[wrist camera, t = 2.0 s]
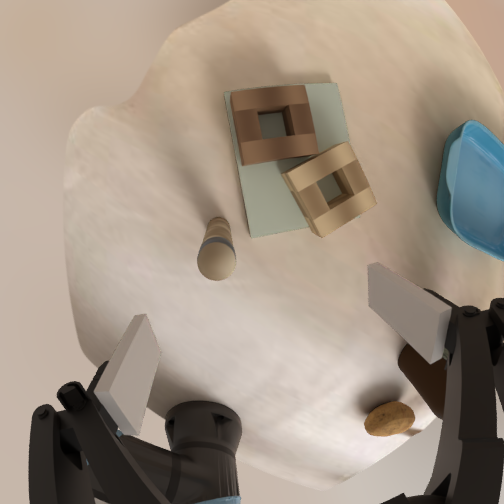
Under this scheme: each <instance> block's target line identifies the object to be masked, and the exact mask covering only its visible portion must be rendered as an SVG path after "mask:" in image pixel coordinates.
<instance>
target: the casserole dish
mask: <svg viewBox="0 0 504 504" xmlns="http://www.w3.org/2000/svg"><path fill="white" fill-rule="evenodd" d="M437 208H438V212H439V215H440V217H441V219H442V220H443V222H444V223H445V224H446V225H447V227H448V228H450V229H451V230H452V231H453V232H454V233H455V234H456V235H457V236H458V237H459V238H460V239H461V240H463V241H464V242H465V243H467V244H468V245H470V246H472V247H474V248H476V249H478V250H480V251H482V252H485V253H487V254H489V255H491V256H493V257H495V258H497V259H499V260H501V261H504V144H503V143H502V142H501V141H500V140H499V139H498V138H497V137H496V136H495V135H494V134H493V133H492V132H491V131H490V130H489V129H487V128H486V127H485V126H484V125H482V124H481V123H479V122H478V121H475V120H468V121H467V122H465V123H464V124H462V125H461V126H459V127H458V128H456V129H455V130H454V131H453V132H452V133H451V134H450V135H449V137H448V138H447V141H446V144H445V148H444V153H443V160H442V167H441V173H440V179H439V185H438V191H437Z"/></svg>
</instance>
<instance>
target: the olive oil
mask: <svg viewBox="0 0 504 504" xmlns="http://www.w3.org/2000/svg"><path fill="white" fill-rule="evenodd" d="M448 354H449V351H448V350H447V349H446V348H444V351H443V355H442V358H441V359H439V360H437V361H436V362H434V363H432V364H429V363H428V362H427V361H426V360H425V359H424V358H423V357H422V356H421V355H420V354H419V353H418V352H417V351H416V350H415V349H414V348H413V347H412V346H411V345H410V344H409V343H408V344H407V345H406V346H405V347H404V349H403V350H402V352H401V354H400V356H399V360H398V366H399V368H400V370H401V371H402V372H403V373H404V374H405V376H406V377H407V378H408V379H409V381H410V382H411V383H412V384H413V386H414V387H415V388H416V390H417V391H418V392H419V394H420V395H421V396H422V398H423V399H424V401H425V402H426V403H427V405H428V406H429V407H430V409H431V410H432V412H433V413H434V414H435V415H436V416H437V417H438V418H440V419H442V420H443V415H444V407H445V397H446V383H447V369H446V370H444V369H445V365H446V361H447V358H448Z"/></svg>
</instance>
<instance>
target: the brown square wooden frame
mask: <svg viewBox="0 0 504 504" xmlns="http://www.w3.org/2000/svg"><path fill="white" fill-rule="evenodd" d="M230 105H231V110H232V116H233V121H234V126H235V132H236V137H237V142H238V147H239V153H240V158H241V163H242V166H247V165H253V164H259V163H265V162H271V161H278V160H285V159H292V158H299V157H307V156H312V155H316V154H319V150H318V144H317V139H316V134H315V129H314V124H313V119H312V114H311V110H310V105H309V101H308V96H307V92H306V88H305V85H289V86H276V87H265V88H256V89H248V90H241V91H234V92H231V95H230ZM281 112H282V116H283V121H284V126H285V131H286V136H284V137H276V138H269V139H262V134H261V128H260V123H259V118H258V115H264V114H272V113H281Z"/></svg>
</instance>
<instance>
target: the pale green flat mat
mask: <svg viewBox="0 0 504 504" xmlns="http://www.w3.org/2000/svg"><path fill="white" fill-rule="evenodd" d="M289 85H305V88H306V92H307V96H308V101H309V105H310V110H311V114H312V119H313V124H314V129H315V134H316V139H317V144H318V150H319V153H320V152H322V151H324V150H326V149H328V148H329V147H331V146H333V145H335V144H339V143H342V142H346V141H348V142H349V144H350V140H349V135H348V130H347V125H346V120H345V115H344V111H343V106H342V102H341V98H340V93H339V89H338V85H337V83H309V84H289ZM289 85H276V86H289ZM276 86H265V87H276ZM265 87H256V88H265ZM256 88H248V89H256ZM248 89H241V90H248ZM241 90H234V91H241ZM234 91H227V92H224V98H225V103H226V108H227V114H228V119H229V124H230V129H231V135H232V140H233V145H234V151H235V156H236V161H237V167H238V172H239V178H240V183H241V188H242V194H243V199H244V204H245V210H246V215H247V220H248V226H249V231H250V236H251V239H252V238H257V237H262V236H267V235H272V234H277V233H282V232H287V231H292V230H297V229H302V228H308V227H309V225H308V223H307V222H306V220H305V218H304V216H303V214H302V212H301V210H300V208H299V206H298V205H297V203H296V201H295V199H294V197H293V195H292V194H291V192H290V190H289V188H288V186H287V185H286V183H285V181H284V179H283V178H282V176H281V173H283V172H285V171H287V170H288V169H290V168H292V167H294V166H296V165H298V164H299V163H301V162H303V161H305V160H307V159H309V158H311V157H312V156H314V155H312V156H307V157H299V158H292V159H285V160H278V161H271V162H265V163H259V164H253V165H247V166H242V163H241V158H240V153H239V147H238V142H237V137H236V132H235V126H234V121H233V116H232V110H231V105H230V95H231V92H234ZM258 118H259V123H260V128H261V134H262V139H269V138H276V137H284V136H286V131H285V126H284V121H283V116H282V112H281V113H272V114H264V115H258ZM316 183H317V185H318V187H319V189H320V191H321V192H322V194H323V196H324V198H325V200H326V202H328V201H330V200H332V199H334V198H335V197H337V196H339V195H340V194H342V192H341V190H340V188H339V186H338V184H337V182H336V180H335V178H334V176H333V174H332V173H331V174H329V175H327V176H325V177H324V178H322V179H320V180H318V181H317V182H316ZM355 218H360V215H359V216H357V217H355ZM355 218H354V219H355Z"/></svg>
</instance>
